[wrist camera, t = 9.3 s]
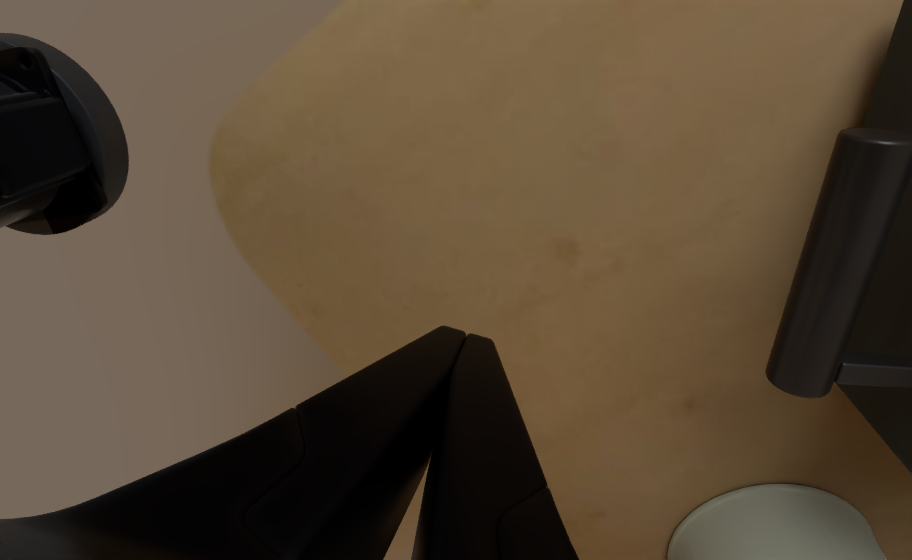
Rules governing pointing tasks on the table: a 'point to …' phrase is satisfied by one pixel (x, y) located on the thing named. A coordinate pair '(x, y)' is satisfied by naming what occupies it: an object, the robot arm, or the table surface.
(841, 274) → the drawer
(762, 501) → the can
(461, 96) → the table surface
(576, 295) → the table surface
